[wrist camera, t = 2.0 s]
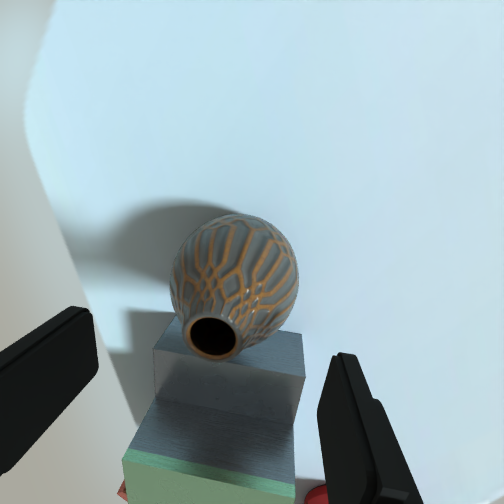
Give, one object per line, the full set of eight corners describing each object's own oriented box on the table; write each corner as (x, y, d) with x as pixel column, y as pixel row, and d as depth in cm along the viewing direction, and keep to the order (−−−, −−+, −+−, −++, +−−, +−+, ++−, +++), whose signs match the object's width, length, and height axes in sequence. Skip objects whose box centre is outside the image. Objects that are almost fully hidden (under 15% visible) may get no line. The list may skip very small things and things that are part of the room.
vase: (301, 291, 18) (315, 403, 10) (211, 300, 19) (157, 407, 11) (288, 195, 16) (291, 239, 7) (186, 213, 17) (95, 267, 9)
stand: (167, 311, 20) (97, 402, 13) (301, 334, 19) (311, 446, 12) (169, 425, 25) (121, 536, 18) (275, 447, 24) (271, 574, 17)
